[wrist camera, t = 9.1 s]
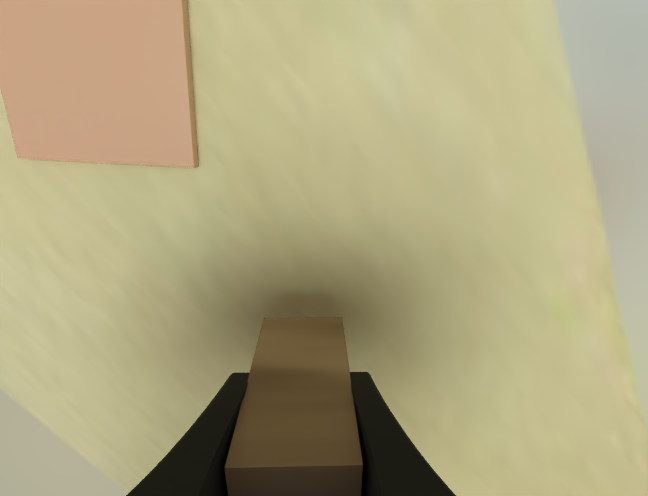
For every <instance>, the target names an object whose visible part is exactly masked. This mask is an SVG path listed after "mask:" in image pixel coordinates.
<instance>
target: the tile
mask: <svg viewBox="0 0 648 496" xmlns="http://www.w3.org/2000/svg"><path fill="white" fill-rule="evenodd" d="M0 88H1V92H2V96H3V100H4V104H5V108H6V112H7V116H8V121H9V125H10V129H11V133H12V137H13V141H14V145H15V149H16V153H17V157H18V158H21V159H40V160H58V161H77V162H95V163H114V164H133V165H151V166H170V167H189V168H195V167H198V166H199V165H198V150H197V136H196V121H195V106H194V91H193V77H192V62H191V47H190V32H189V17H188V3H187V0H0Z"/></svg>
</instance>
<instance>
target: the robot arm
mask: <svg viewBox="0 0 648 496" xmlns="http://www.w3.org/2000/svg"><path fill="white" fill-rule="evenodd" d="M248 377H249V373H233V374H231V375H230V376H229V378H228V379H227V381H226V382H225V384H224V385H223V386H222V388H221V389H220V390H219V392H218V393H217V395H216V396H215V397H214V399H213V400H212V401H211V402H210V404H209V405H208V406H207V408H206V409H205V410H204V411H203V413H202V414H201V415H200V416H199V418H198V419H197V420H196V421H195V423H194V424H193V425H192V426H191V428H190V429H189V430H188V431H187V432H186V433H185V435H184V436H183V437H182V438H181V439H180V440H179V441H178V443H177V444H176V445H175V446H174V447H173V448H172V449H171V450H170V452H169V453H168V454H167V455H166V456H165V457H164V458H163V459H162V460H161V461H160V462H159V463H158V465H157V466H156V467H155V468H154V469H153V470H152V471H151V472H150V473H149V474H148V475H147V476H146V477H145V478H144V479H143V480H142V481H141V482H140V483H139V484H138V485H137V486H136V487H135V488H134V489H133V490H132V491H131V492H130V493H128V494H127V495H126V496H228V490H227V483H226V475H225V464H226V460H227V457H228V453H229V449H230V445H231V441H232V438H233V434H234V430H235V426H236V423H237V419H238V415H239V411H240V407H241V404H242V401H243V398H244V395H245V393H246V389H247V385H248V383H247V381H248ZM350 378H351V389H352V394H353V399H354V406H355V413H356V420H357V427H358V435H359V442H360V449H361V456H362V463H363V471H362V486H361V496H456V495H455V494H454V493H453V492H452V491H451V490H450V489H449V488H448V486H447V485H446V484H445V483H444V482H443V481H442V479H441V478H440V477H439V476H438V475H437V474H436V472H435V471H434V470H433V469H432V467H431V466H430V465H429V464H428V463H427V461H426V460H425V459H424V457H423V456H422V455H421V454H420V452H419V451H418V450H417V448H416V447H415V446H414V444H413V443H412V442H411V440H410V439H409V437H408V436H407V435H406V433H405V432H404V430H403V429H402V427H401V426H400V424H399V423H398V421H397V420H396V418H395V417H394V415H393V414H392V412H391V411H390V409H389V408H388V406H387V404H386V403H385V401H384V399H383V398H382V396H381V394H380V393H379V391H378V389H377V387H376V385H375V383H374V382H373V380H372V378H371V375H370V374H369V373H368V372H350Z"/></svg>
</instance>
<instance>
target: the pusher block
mask: <svg viewBox="0 0 648 496" xmlns="http://www.w3.org/2000/svg"><path fill="white" fill-rule="evenodd" d="M247 383H248V385H247V389H246V393H245V395H244V398H243V401H242V404H241V407H240V411H239V415H238V419H237V423H236V426H235V430H234V434H233V438H232V441H231V445H230V449H229V453H228V457H227V460H226V464H225V475H226V483H227V490H228V496H361V486H362V471H363V463H362V456H361V449H360V442H359V435H358V427H357V420H356V413H355V406H354V399H353V394H352V389H351V378H350V371H349V364H348V357H347V350H346V343H345V336H344V329H343V322H342V317H335V318H264V321H263V324H262V328H261V332H260V336H259V339H258V343H257V347H256V351H255V355H254V358H253V362H252V366H251V370H250V373H249V377H248V381H247Z"/></svg>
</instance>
